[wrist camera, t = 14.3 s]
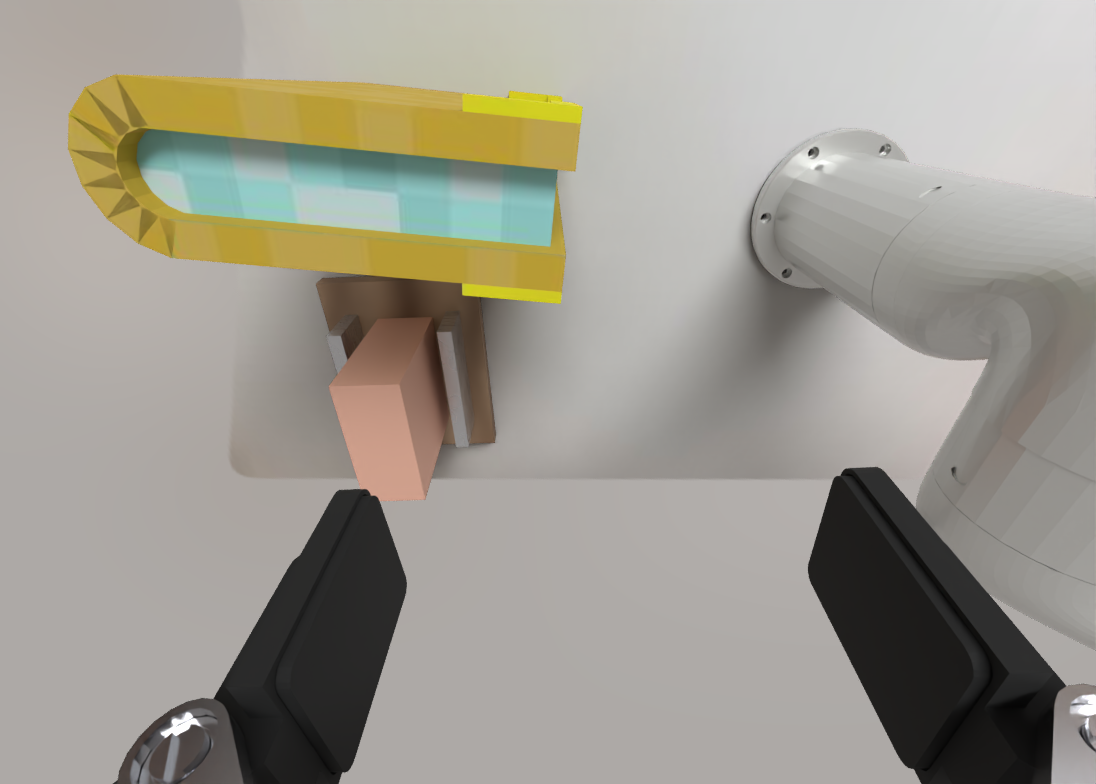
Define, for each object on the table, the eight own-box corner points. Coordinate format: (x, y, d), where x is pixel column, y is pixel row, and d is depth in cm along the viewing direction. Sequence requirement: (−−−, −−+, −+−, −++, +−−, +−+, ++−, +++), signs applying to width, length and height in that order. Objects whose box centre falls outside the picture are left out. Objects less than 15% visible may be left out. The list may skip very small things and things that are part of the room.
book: (560, 96, 37) (582, 106, 16) (552, 191, 41) (560, 303, 19) (332, 71, 36) (29, 47, 15) (343, 170, 40) (111, 265, 18)
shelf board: (477, 272, 44) (475, 277, 43) (495, 434, 54) (494, 442, 52) (322, 278, 44) (315, 283, 43) (368, 438, 54) (363, 446, 53)
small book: (432, 316, 45) (399, 384, 35) (449, 416, 51) (425, 499, 40) (377, 318, 45) (328, 386, 35) (400, 418, 51) (364, 501, 40)
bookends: (459, 310, 45) (451, 331, 41) (474, 419, 51) (468, 446, 47) (344, 315, 45) (326, 336, 41) (374, 423, 51) (360, 450, 47)
